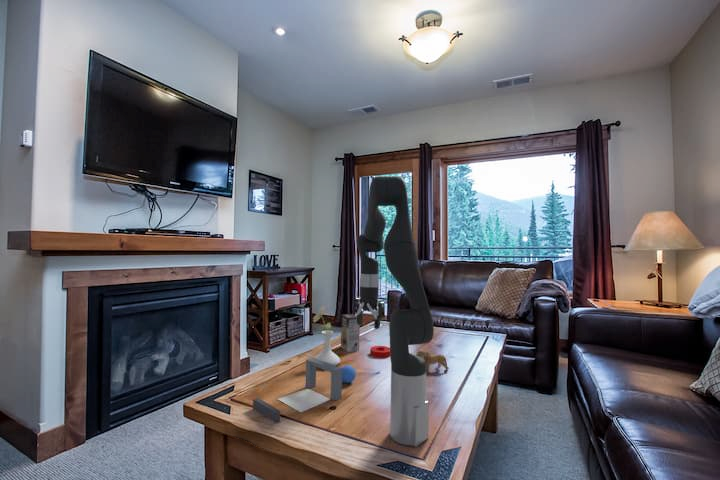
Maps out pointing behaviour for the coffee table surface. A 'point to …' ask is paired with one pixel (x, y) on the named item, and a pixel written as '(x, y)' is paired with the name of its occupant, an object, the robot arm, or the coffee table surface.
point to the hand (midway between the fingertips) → (368, 326)
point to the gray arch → (335, 370)
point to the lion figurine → (433, 360)
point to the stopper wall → (266, 409)
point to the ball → (348, 374)
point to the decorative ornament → (380, 351)
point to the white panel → (303, 400)
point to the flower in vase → (326, 341)
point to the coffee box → (350, 332)
